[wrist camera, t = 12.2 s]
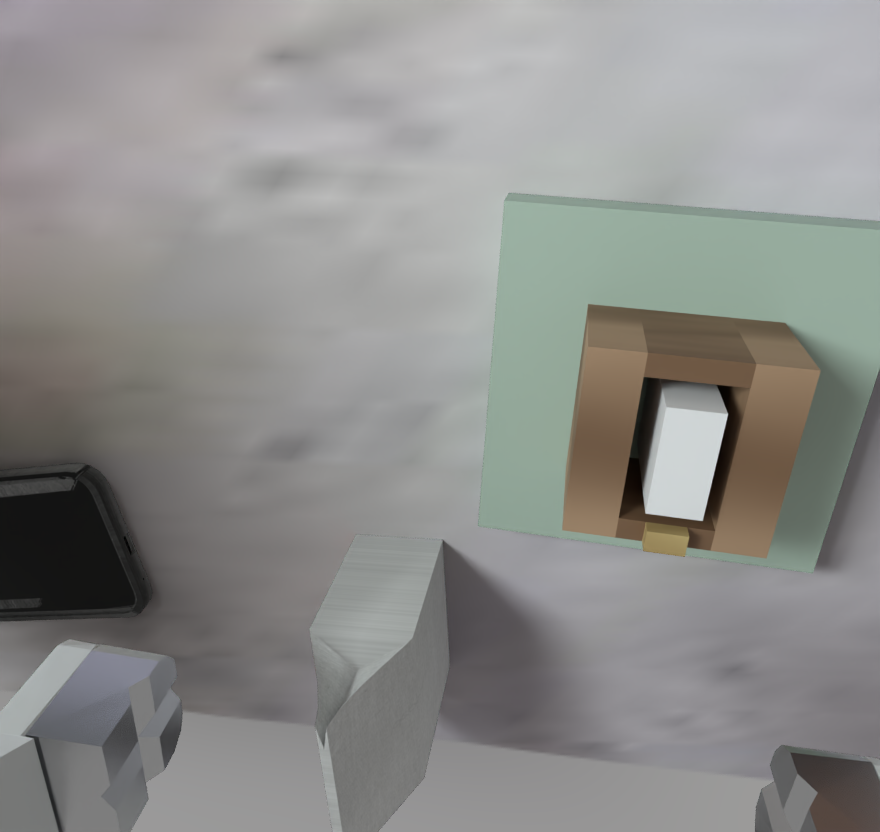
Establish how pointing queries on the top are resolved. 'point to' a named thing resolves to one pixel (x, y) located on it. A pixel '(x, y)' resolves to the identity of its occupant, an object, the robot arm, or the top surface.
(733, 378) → the open wooden frame
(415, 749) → the white boxy piece
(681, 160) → the top surface
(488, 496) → the base
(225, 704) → the top surface
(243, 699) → the top surface
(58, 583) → the phone
